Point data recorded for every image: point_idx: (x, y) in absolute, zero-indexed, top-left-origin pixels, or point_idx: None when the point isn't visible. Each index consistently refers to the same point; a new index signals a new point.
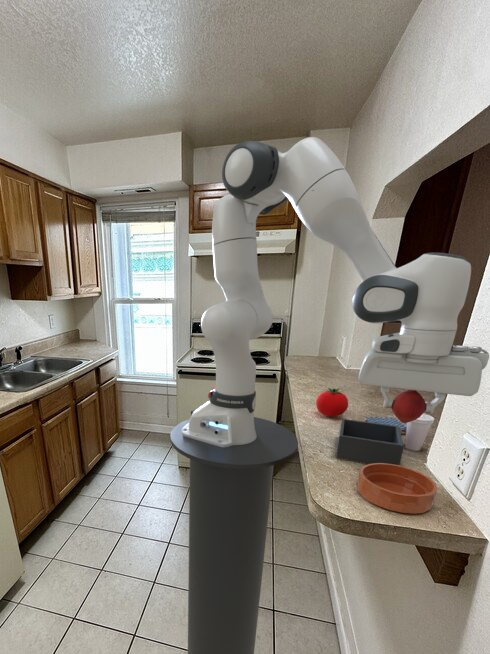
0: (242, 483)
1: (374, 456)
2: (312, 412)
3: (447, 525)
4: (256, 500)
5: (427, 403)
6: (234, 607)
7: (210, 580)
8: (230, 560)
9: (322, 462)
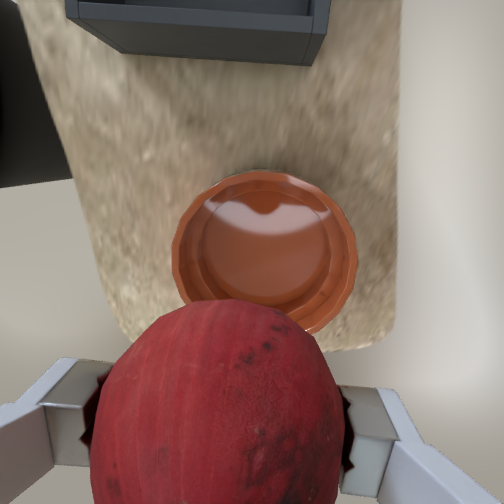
0: None
1: (231, 51)
2: None
3: (346, 327)
4: (36, 156)
5: (365, 454)
6: None
7: None
8: None
9: (88, 111)
